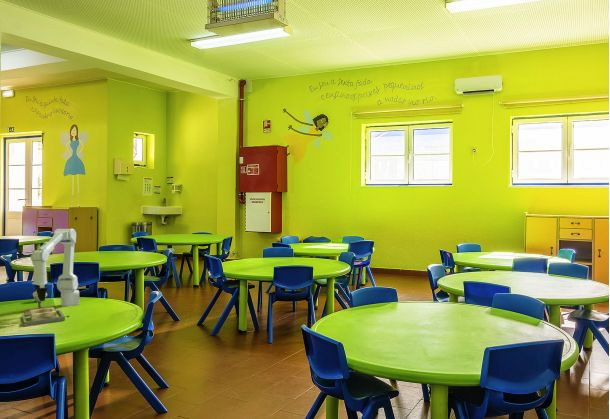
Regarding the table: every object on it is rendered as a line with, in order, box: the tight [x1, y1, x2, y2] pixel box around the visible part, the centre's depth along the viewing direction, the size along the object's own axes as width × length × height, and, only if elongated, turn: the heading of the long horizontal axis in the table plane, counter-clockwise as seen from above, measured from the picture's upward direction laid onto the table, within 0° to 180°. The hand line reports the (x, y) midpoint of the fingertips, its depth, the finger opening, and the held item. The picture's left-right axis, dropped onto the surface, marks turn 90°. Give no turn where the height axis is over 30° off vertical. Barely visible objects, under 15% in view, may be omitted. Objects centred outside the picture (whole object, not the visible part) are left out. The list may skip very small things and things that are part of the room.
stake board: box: [22, 300, 57, 315], centre depth 280 cm, size 15×16×7 cm
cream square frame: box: [29, 307, 57, 321], centre depth 265 cm, size 11×12×4 cm
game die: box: [31, 290, 50, 302], centre depth 308 cm, size 9×8×10 cm
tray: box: [21, 309, 66, 327], centre depth 265 cm, size 18×18×2 cm
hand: (41, 299), depth 269 cm, fingers open, 7 cm apart
